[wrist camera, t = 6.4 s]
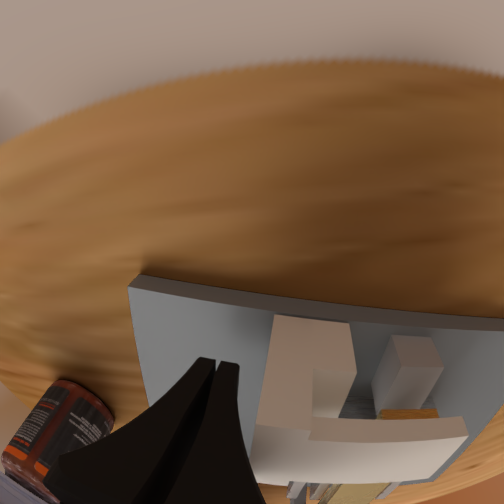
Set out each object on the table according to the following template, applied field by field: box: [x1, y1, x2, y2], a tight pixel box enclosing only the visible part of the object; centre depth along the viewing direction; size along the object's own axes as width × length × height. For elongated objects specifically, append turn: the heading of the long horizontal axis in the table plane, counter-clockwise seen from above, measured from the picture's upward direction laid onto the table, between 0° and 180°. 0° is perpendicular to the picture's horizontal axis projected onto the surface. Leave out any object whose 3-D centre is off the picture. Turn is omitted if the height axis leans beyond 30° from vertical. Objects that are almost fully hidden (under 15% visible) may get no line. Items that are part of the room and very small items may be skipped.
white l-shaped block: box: [249, 314, 469, 486], centre depth 10 cm, size 4×7×5 cm, turn 86°
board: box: [127, 274, 504, 504], centre depth 14 cm, size 16×22×6 cm
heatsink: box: [286, 396, 436, 500], centre depth 14 cm, size 7×7×3 cm
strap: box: [318, 409, 439, 504], centre depth 12 cm, size 13×2×1 cm, turn 176°
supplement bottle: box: [1, 380, 114, 504], centre depth 15 cm, size 6×6×11 cm
